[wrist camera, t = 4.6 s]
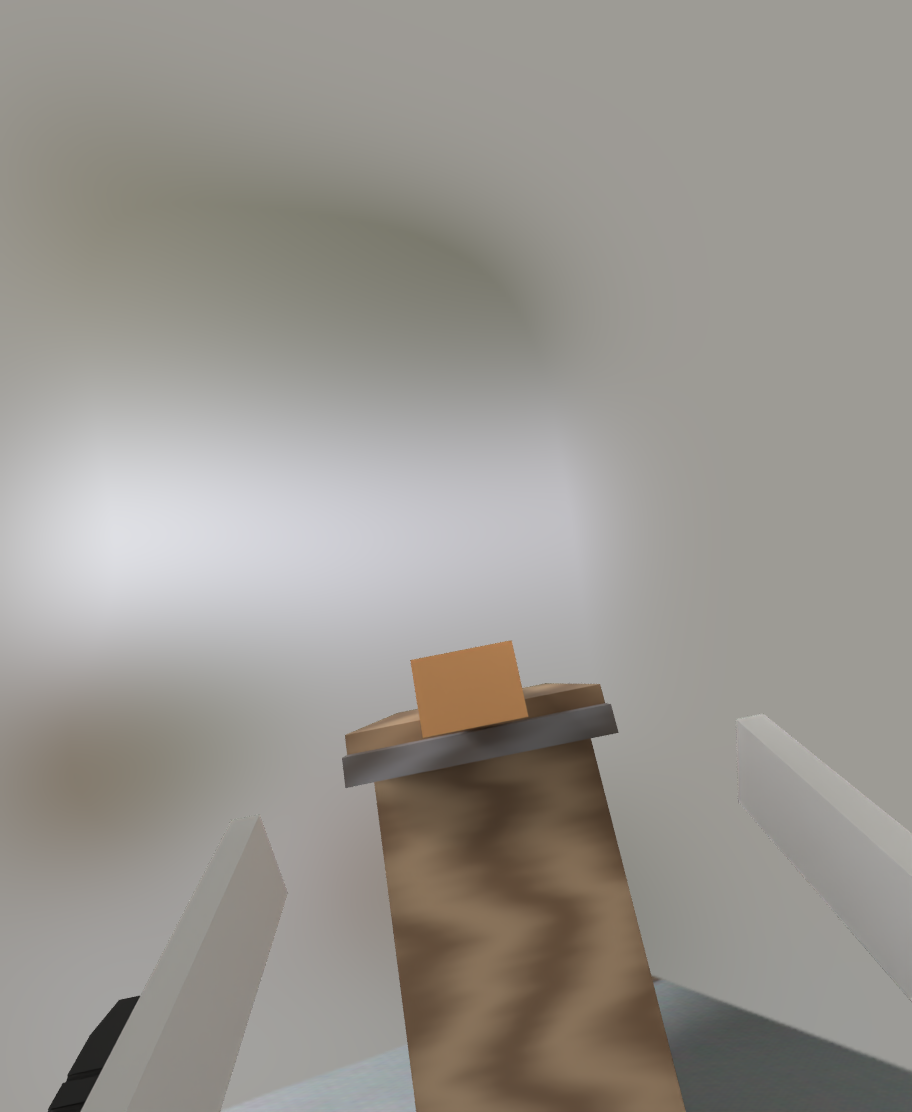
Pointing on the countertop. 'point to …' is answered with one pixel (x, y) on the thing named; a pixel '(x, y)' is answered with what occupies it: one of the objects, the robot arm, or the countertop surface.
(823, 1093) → the countertop surface
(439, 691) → the tan flat bar
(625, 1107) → the tower
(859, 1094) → the countertop surface
